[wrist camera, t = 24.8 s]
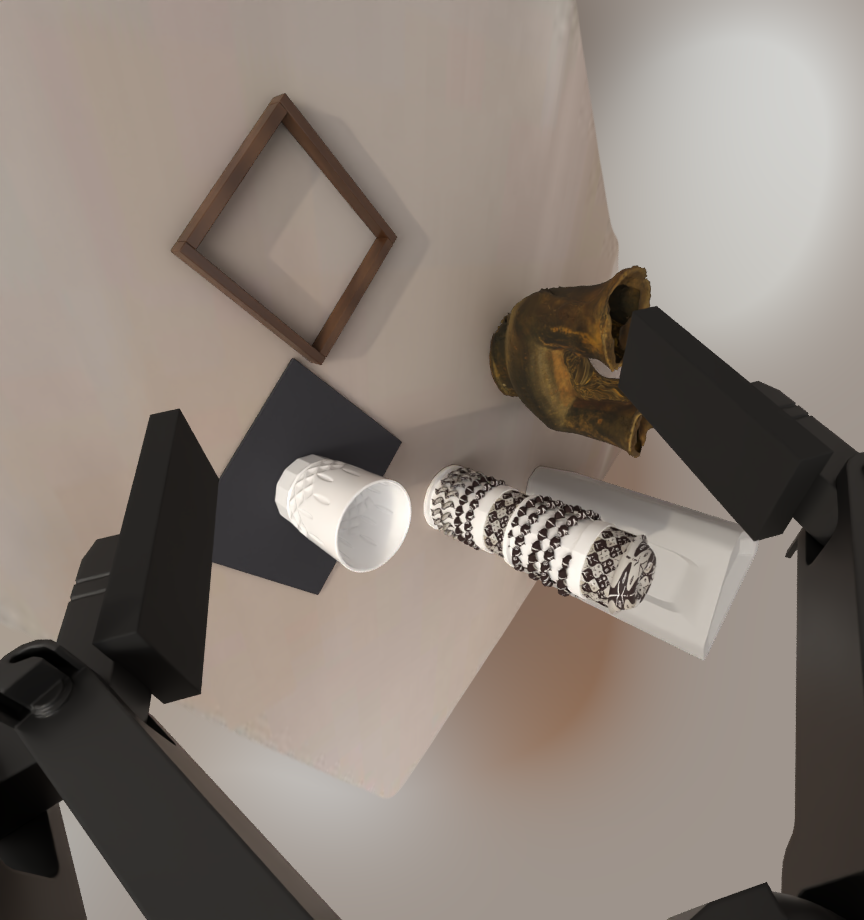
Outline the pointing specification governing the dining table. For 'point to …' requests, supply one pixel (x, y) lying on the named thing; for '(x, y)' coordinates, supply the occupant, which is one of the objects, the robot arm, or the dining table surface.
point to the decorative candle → (543, 538)
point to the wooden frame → (330, 166)
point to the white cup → (345, 510)
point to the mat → (263, 462)
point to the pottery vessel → (574, 357)
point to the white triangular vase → (665, 557)
